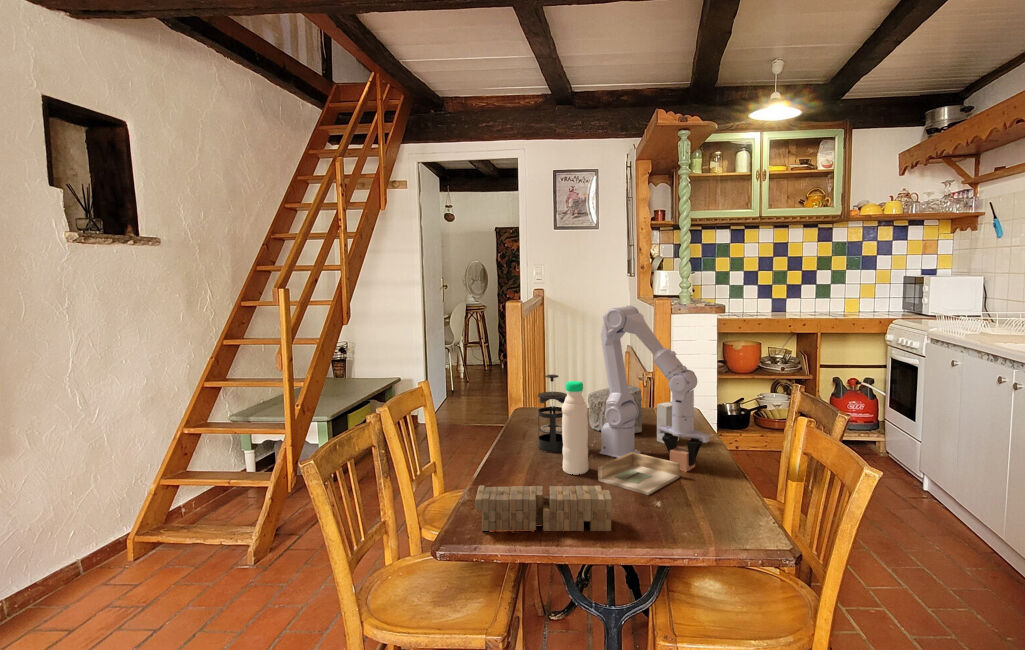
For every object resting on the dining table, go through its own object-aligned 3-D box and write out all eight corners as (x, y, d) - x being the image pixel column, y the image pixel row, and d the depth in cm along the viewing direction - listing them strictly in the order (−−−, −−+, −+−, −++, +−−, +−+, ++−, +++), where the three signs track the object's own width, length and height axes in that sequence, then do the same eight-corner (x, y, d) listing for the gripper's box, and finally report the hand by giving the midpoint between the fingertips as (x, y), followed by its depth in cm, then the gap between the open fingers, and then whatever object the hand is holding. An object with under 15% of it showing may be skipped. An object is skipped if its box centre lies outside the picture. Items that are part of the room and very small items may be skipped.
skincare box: (666, 444, 186) (666, 406, 185) (655, 441, 190) (656, 403, 189) (680, 441, 190) (680, 403, 189) (669, 437, 194) (669, 401, 192)
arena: (598, 480, 158) (597, 466, 157) (631, 464, 169) (631, 451, 169) (648, 495, 148) (648, 480, 147) (679, 477, 159) (680, 463, 159)
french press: (568, 453, 180) (567, 378, 178) (537, 453, 181) (536, 378, 178) (567, 441, 192) (566, 370, 189) (538, 441, 193) (536, 371, 190)
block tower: (606, 521, 136) (478, 518, 137) (607, 485, 135) (478, 482, 136) (611, 537, 128) (475, 533, 130) (612, 499, 128) (475, 495, 129)
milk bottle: (591, 468, 167) (590, 380, 164) (583, 477, 161) (582, 385, 158) (567, 465, 170) (566, 378, 167) (559, 473, 164) (557, 383, 161)
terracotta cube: (669, 468, 166) (669, 450, 165) (678, 463, 170) (678, 445, 169) (686, 472, 163) (686, 453, 162) (695, 467, 166) (695, 449, 166)
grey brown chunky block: (581, 423, 212) (580, 382, 211) (625, 418, 217) (625, 378, 216) (605, 438, 194) (604, 393, 193) (652, 432, 200) (652, 388, 198)
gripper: (651, 413, 167) (651, 460, 168) (700, 422, 157) (700, 472, 158) (664, 408, 172) (664, 454, 173) (712, 416, 162) (712, 465, 163)
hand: (682, 462), depth 166 cm, fingers closed on terracotta cube, 5 cm apart
